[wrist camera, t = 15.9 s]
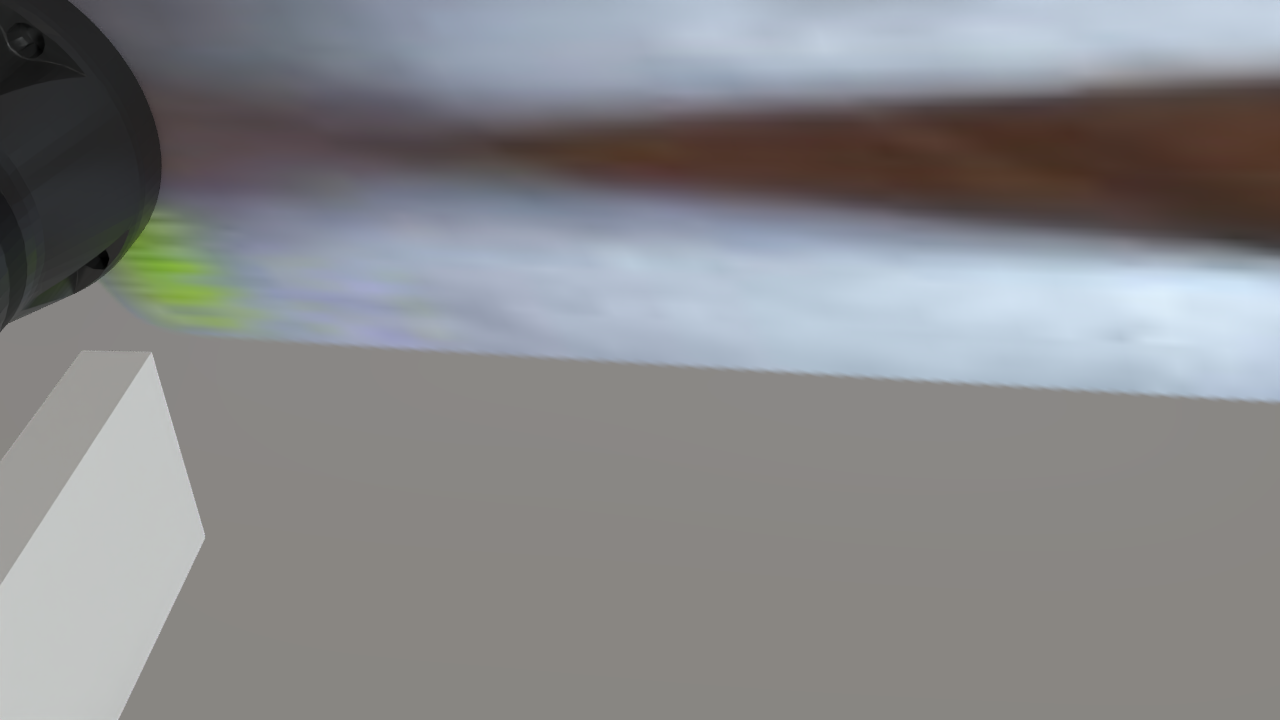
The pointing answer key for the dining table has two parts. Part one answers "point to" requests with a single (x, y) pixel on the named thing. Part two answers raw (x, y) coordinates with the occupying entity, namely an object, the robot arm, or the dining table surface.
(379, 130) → the dining table surface
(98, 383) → the robot arm
